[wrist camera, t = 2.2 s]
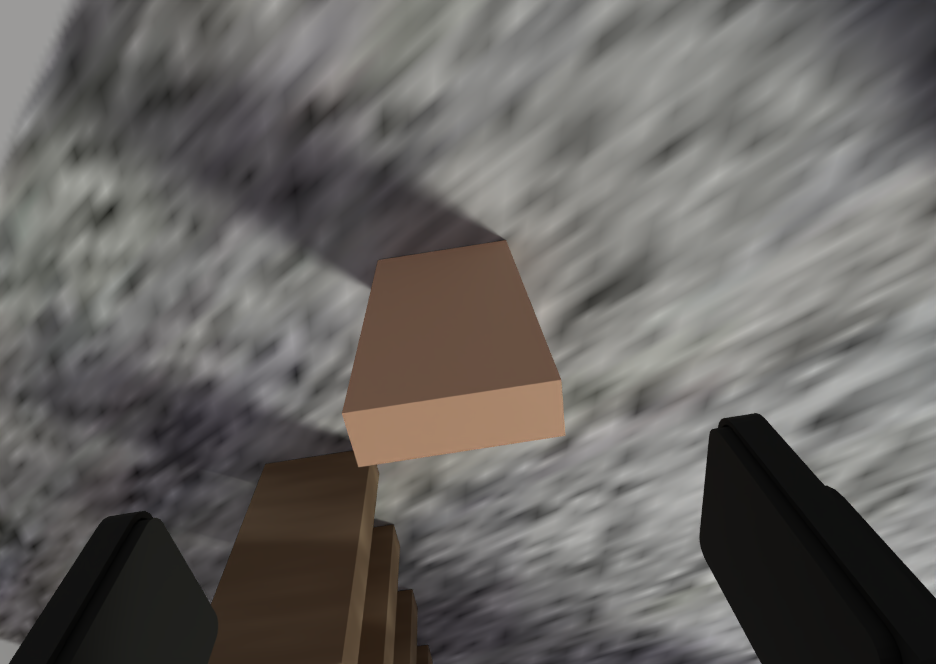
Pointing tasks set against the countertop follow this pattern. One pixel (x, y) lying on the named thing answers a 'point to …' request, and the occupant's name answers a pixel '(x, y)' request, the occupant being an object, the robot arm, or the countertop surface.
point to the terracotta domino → (450, 359)
